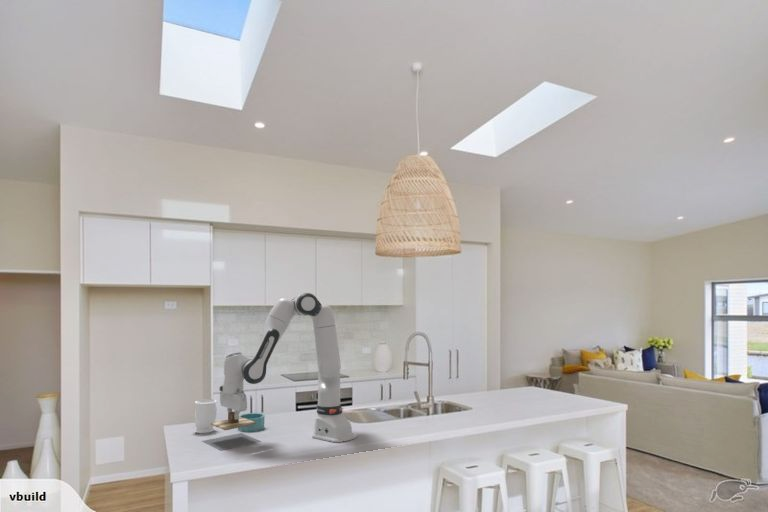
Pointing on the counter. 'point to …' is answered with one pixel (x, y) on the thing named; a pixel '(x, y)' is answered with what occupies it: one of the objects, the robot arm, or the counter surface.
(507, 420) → the counter surface
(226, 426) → the lid
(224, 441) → the mat
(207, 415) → the jar
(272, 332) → the robot arm
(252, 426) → the bowl
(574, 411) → the counter surface
